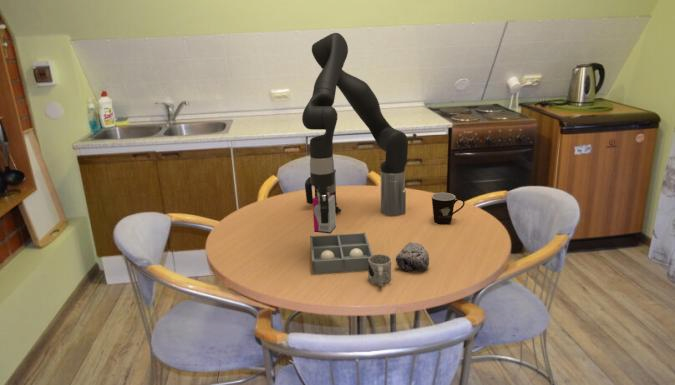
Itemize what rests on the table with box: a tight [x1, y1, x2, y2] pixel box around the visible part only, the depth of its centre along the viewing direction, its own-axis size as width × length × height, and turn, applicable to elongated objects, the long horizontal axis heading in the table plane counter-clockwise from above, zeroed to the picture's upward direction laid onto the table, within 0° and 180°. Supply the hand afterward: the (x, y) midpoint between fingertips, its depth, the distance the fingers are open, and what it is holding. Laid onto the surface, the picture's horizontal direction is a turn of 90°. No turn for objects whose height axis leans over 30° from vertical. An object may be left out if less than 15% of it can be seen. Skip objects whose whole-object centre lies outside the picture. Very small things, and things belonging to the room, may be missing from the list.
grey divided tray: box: [309, 232, 374, 275], centre depth 167 cm, size 19×19×4 cm
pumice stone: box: [395, 241, 430, 272], centre depth 159 cm, size 10×8×10 cm
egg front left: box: [349, 248, 363, 258], centre depth 162 cm, size 4×4×4 cm
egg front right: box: [321, 250, 335, 260], centre depth 162 cm, size 4×4×4 cm
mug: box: [367, 253, 392, 287], centre depth 151 cm, size 10×7×7 cm, turn 178°
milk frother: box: [304, 168, 342, 214], centre depth 208 cm, size 14×16×15 cm
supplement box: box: [312, 195, 337, 235], centre depth 167 cm, size 6×6×12 cm
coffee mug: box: [431, 192, 466, 226], centre depth 191 cm, size 12×9×10 cm
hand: (324, 218), depth 167 cm, fingers closed on supplement box, 7 cm apart
